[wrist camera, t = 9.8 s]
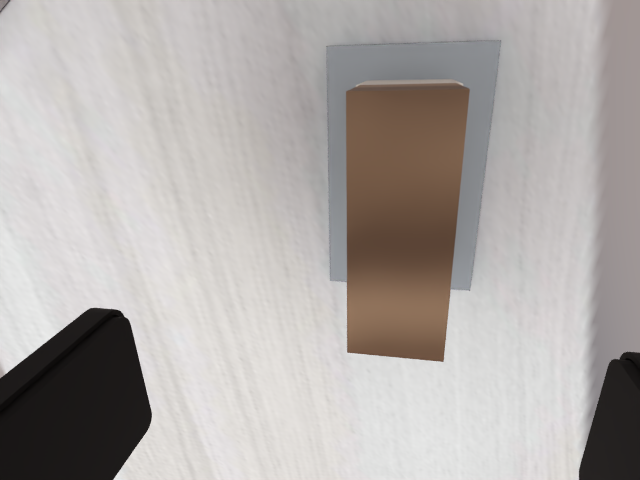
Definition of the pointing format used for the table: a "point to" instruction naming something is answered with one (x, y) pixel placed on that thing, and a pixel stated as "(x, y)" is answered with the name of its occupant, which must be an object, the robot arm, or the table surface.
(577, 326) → the table surface
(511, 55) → the table surface
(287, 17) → the table surface
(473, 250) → the slate board
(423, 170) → the walnut beam
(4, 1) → the coffee box
